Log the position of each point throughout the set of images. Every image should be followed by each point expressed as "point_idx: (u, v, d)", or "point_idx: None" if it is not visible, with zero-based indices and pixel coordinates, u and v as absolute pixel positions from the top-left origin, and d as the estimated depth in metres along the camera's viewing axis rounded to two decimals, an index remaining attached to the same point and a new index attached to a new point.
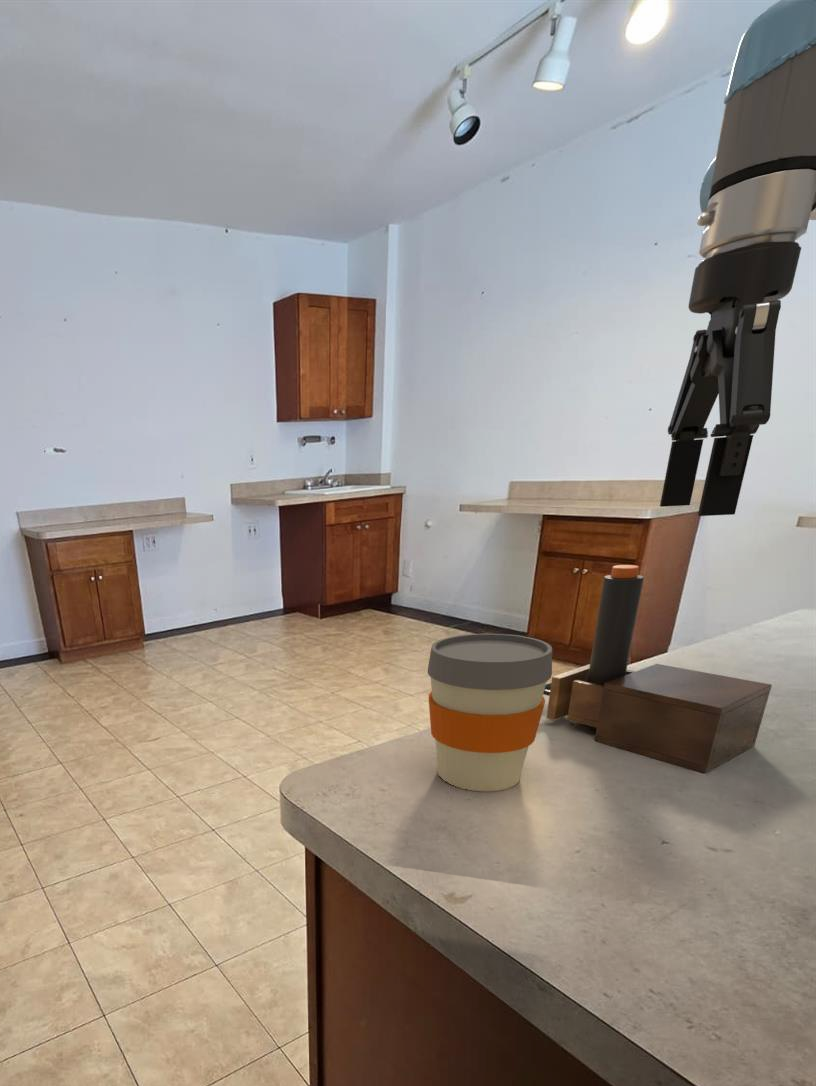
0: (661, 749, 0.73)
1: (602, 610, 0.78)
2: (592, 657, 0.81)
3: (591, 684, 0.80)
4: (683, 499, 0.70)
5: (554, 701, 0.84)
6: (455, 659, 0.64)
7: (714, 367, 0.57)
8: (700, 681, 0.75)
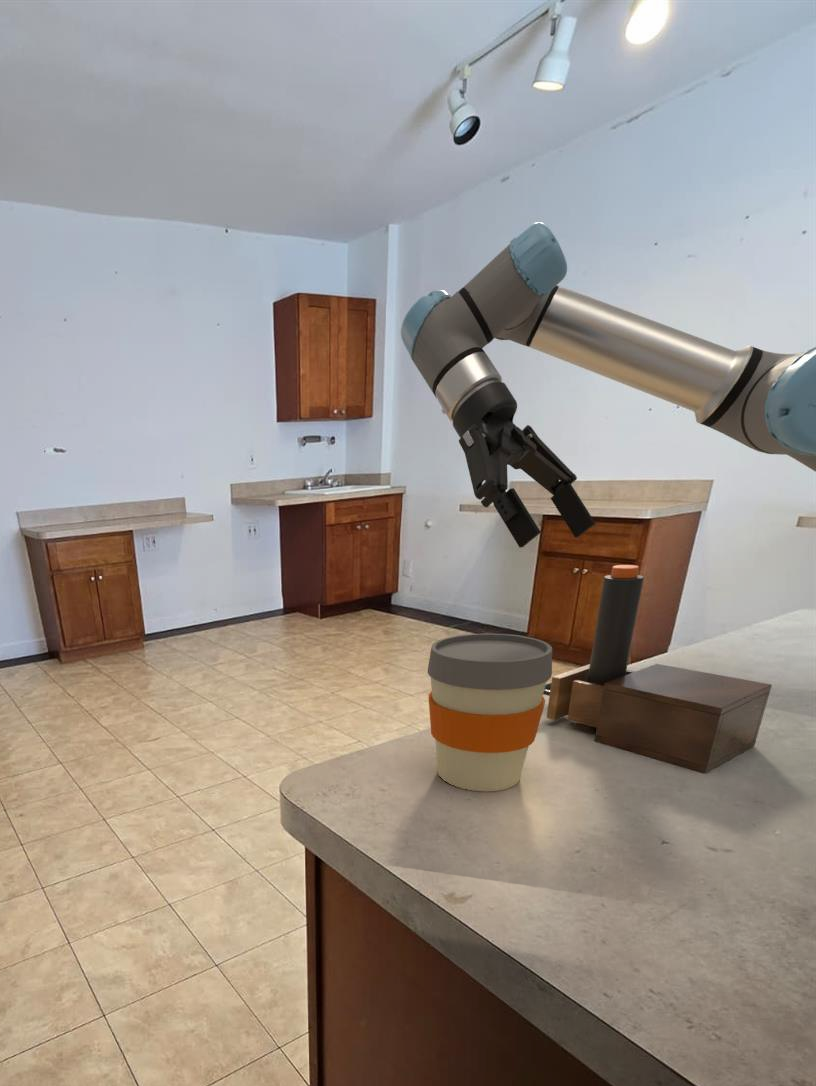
0: (661, 749, 0.73)
1: (602, 610, 0.78)
2: (592, 657, 0.81)
3: (591, 684, 0.80)
4: (585, 523, 0.84)
5: (554, 701, 0.84)
6: (455, 659, 0.64)
7: None
8: (700, 681, 0.75)
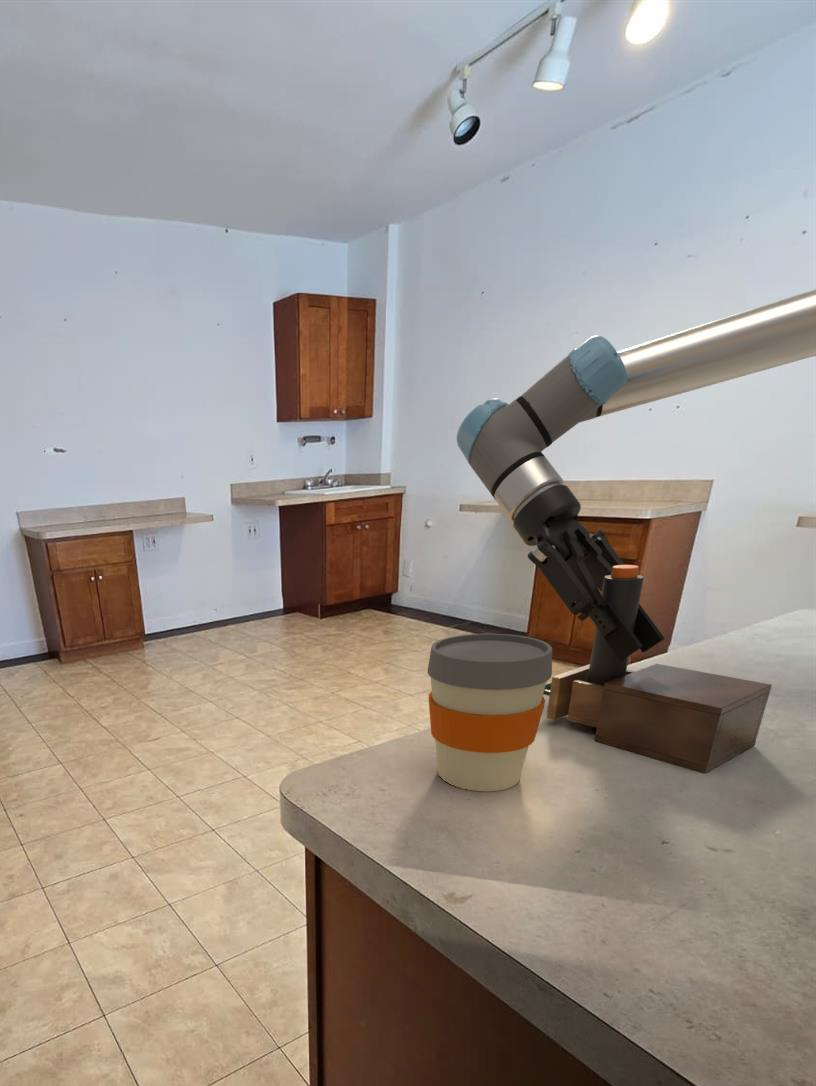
0: (661, 749, 0.73)
1: None
2: (592, 657, 0.81)
3: (591, 684, 0.80)
4: (653, 639, 0.78)
5: (554, 701, 0.84)
6: (455, 659, 0.64)
7: None
8: (700, 681, 0.75)
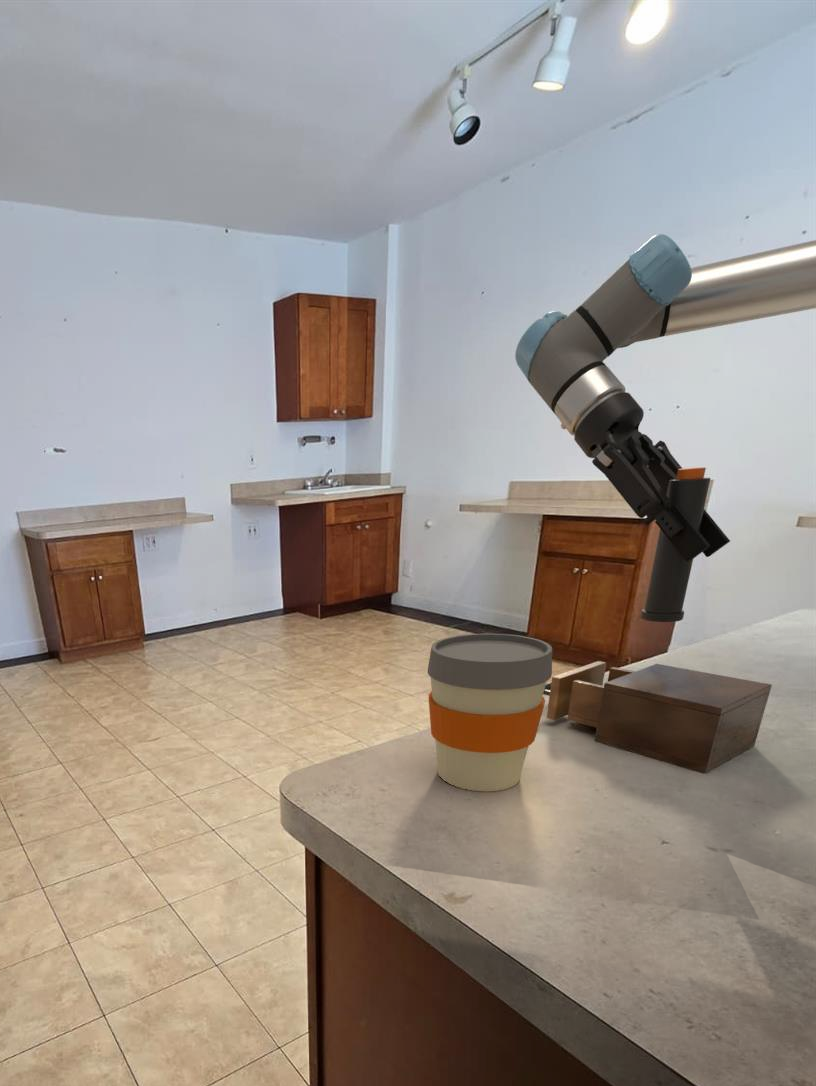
0: (661, 749, 0.73)
1: None
2: (655, 564, 0.82)
3: (591, 684, 0.80)
4: (718, 542, 0.79)
5: (554, 701, 0.84)
6: (455, 659, 0.64)
7: None
8: (700, 681, 0.75)
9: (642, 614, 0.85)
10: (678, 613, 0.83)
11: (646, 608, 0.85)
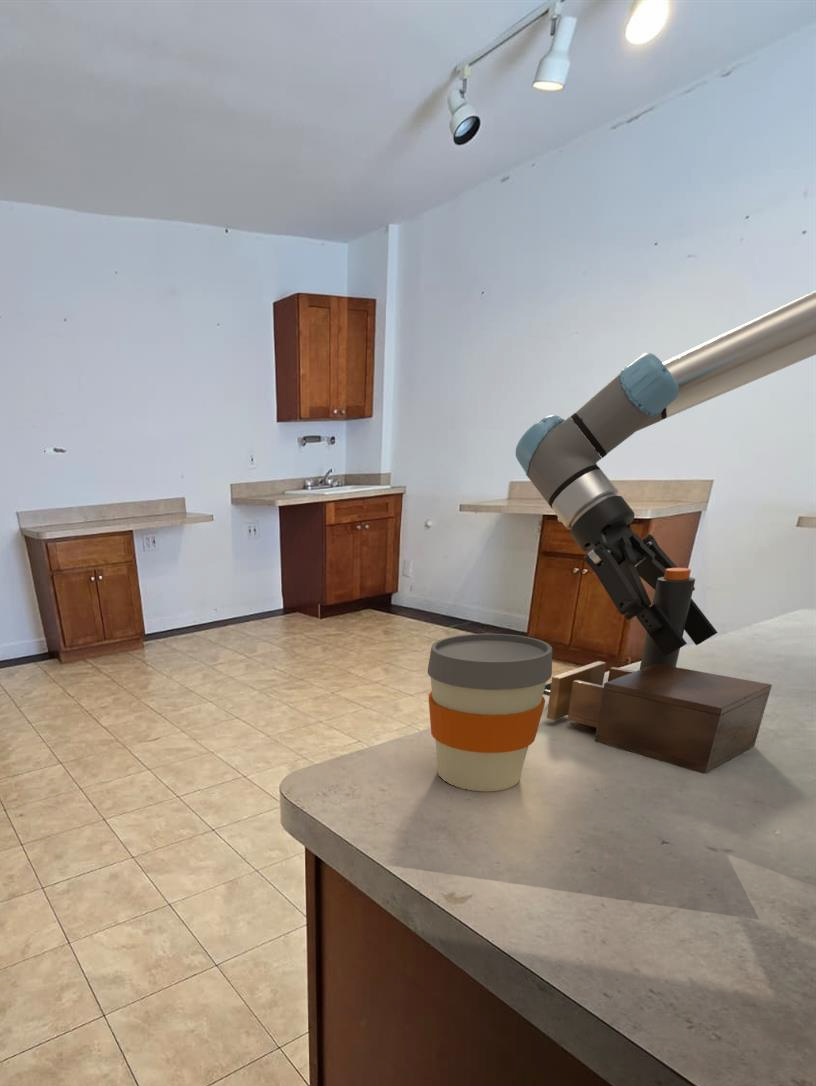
0: (661, 749, 0.73)
1: None
2: (644, 653, 0.88)
3: (591, 684, 0.80)
4: (707, 633, 0.86)
5: (554, 701, 0.84)
6: (455, 659, 0.64)
7: None
8: (700, 681, 0.75)
9: None
10: None
11: None
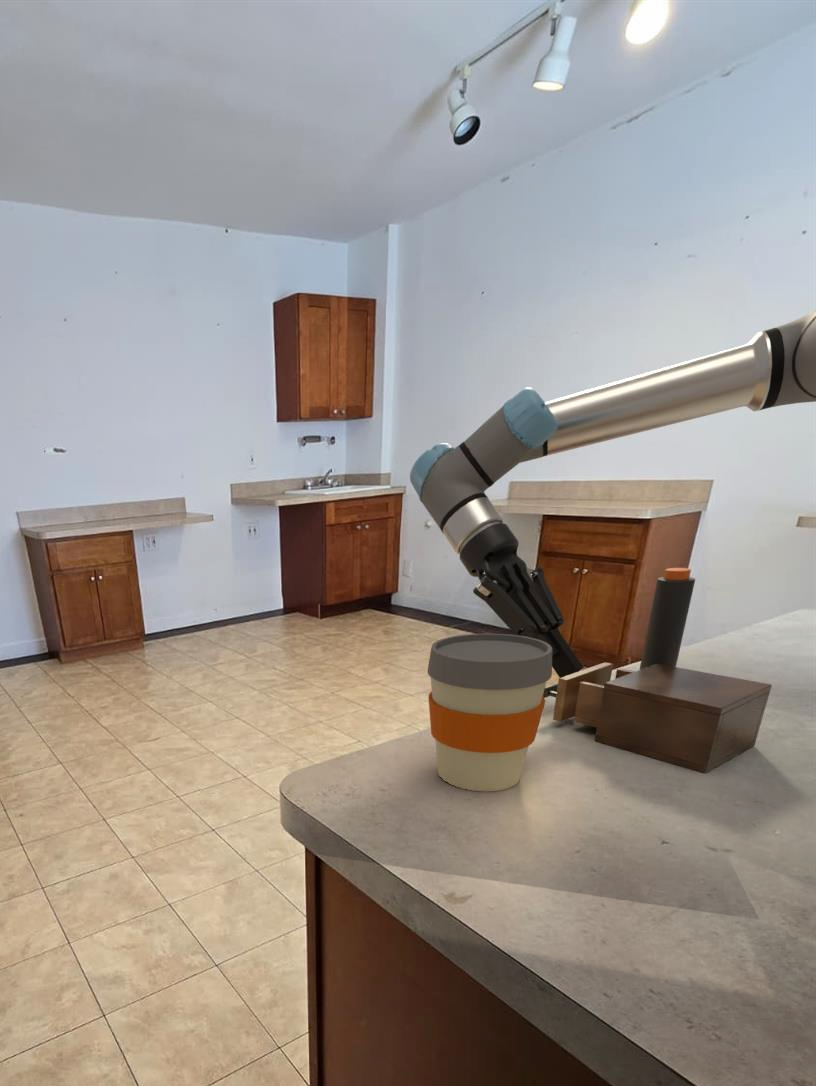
0: (661, 749, 0.73)
1: (656, 609, 0.85)
2: (644, 653, 0.88)
3: (598, 685, 0.79)
4: None
5: (561, 703, 0.83)
6: (455, 659, 0.64)
7: None
8: (700, 681, 0.75)
9: None
10: None
11: None
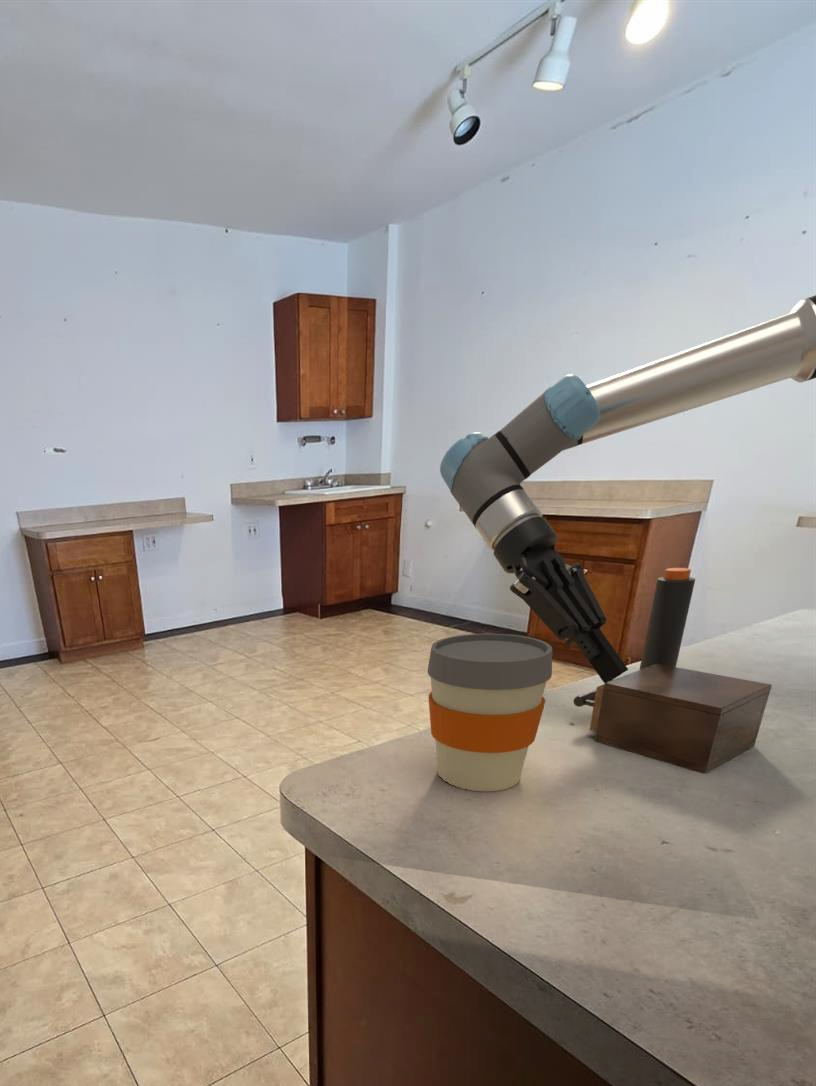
0: (661, 749, 0.73)
1: (656, 609, 0.85)
2: (644, 653, 0.88)
3: None
4: None
5: (598, 712, 0.79)
6: (455, 659, 0.64)
7: None
8: (700, 681, 0.75)
9: None
10: None
11: None
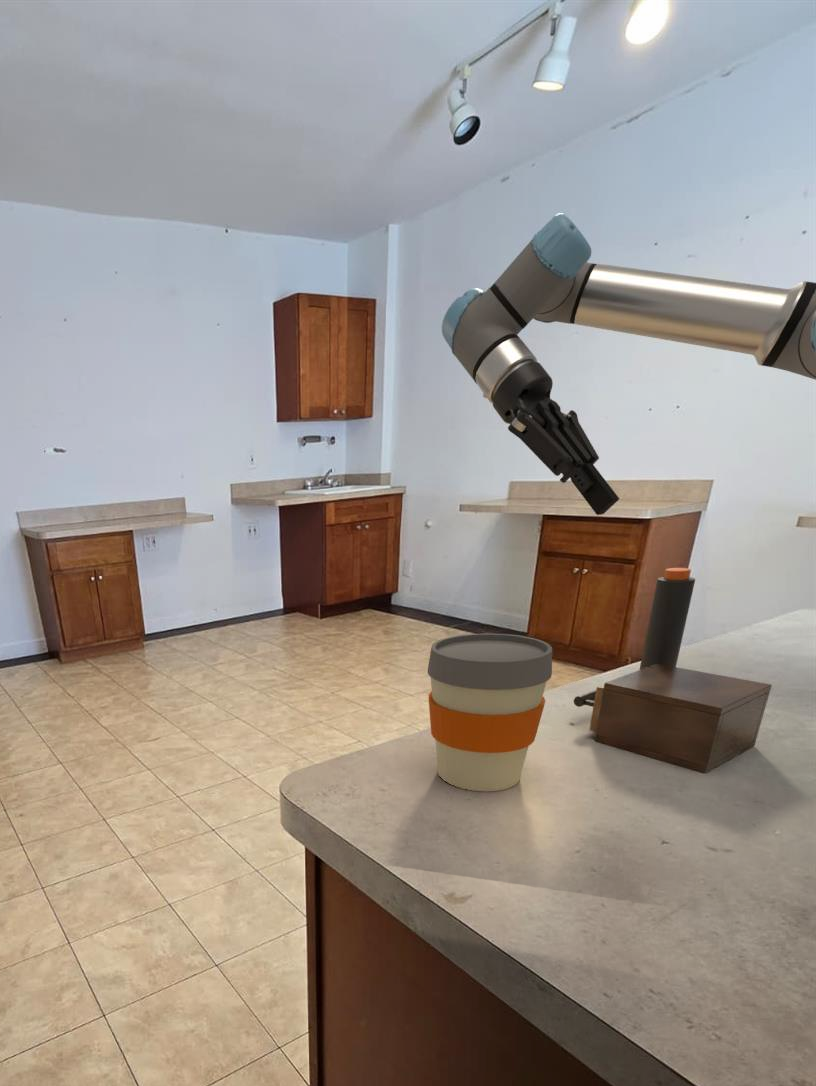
0: (661, 749, 0.73)
1: (656, 609, 0.85)
2: (644, 653, 0.88)
3: None
4: None
5: (598, 712, 0.79)
6: (455, 659, 0.64)
7: None
8: (700, 681, 0.75)
9: None
10: None
11: None
